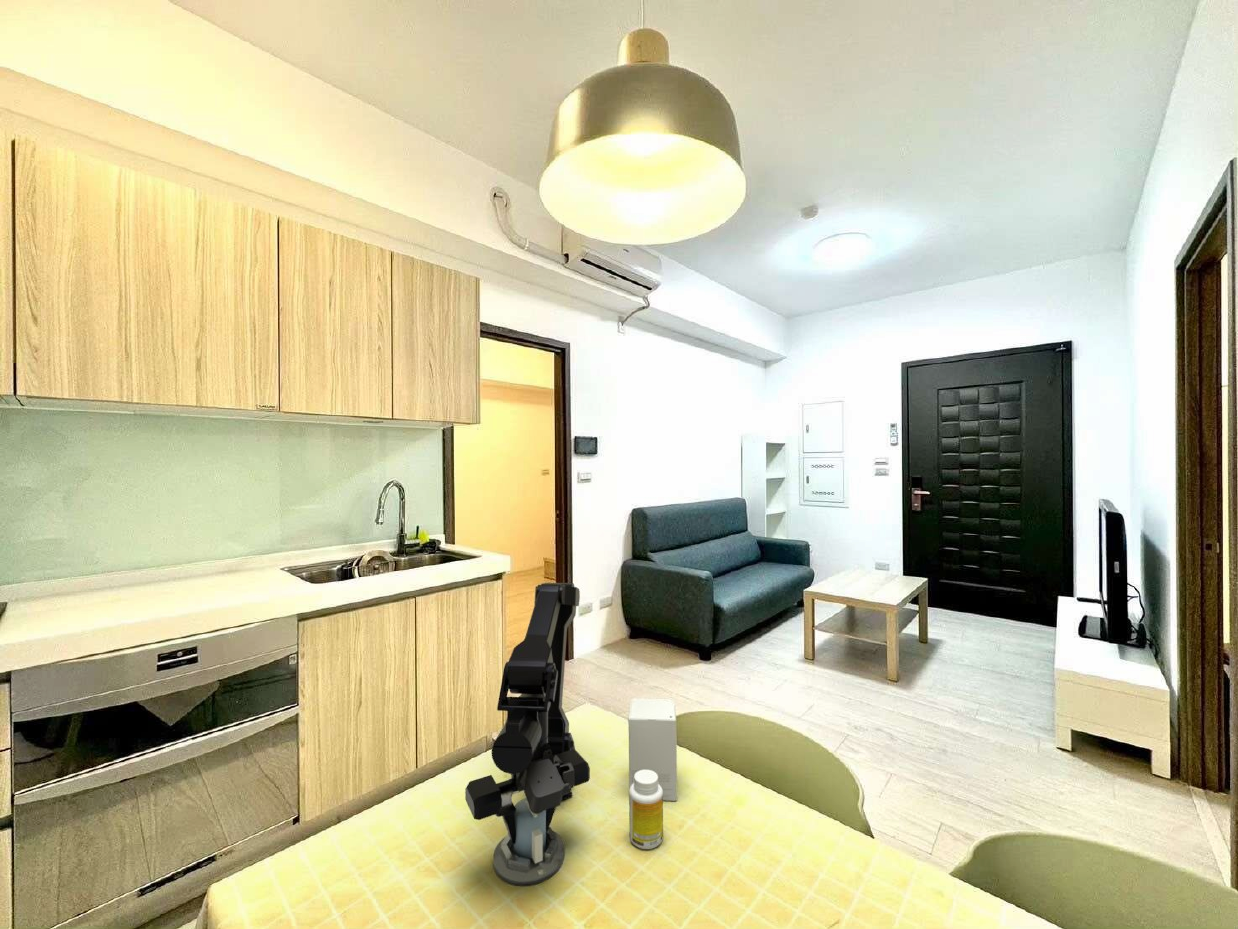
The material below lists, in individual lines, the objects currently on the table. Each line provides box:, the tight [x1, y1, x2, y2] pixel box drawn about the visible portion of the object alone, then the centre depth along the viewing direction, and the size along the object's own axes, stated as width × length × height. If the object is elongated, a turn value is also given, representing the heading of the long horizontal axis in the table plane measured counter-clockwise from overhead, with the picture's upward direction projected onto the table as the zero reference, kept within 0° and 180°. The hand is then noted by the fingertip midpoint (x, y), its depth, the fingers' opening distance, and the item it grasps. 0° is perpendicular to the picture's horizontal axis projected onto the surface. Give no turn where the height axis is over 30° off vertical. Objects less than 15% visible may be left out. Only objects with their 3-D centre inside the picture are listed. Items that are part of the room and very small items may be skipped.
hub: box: [492, 826, 566, 887], centre depth 80 cm, size 11×11×2 cm
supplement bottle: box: [628, 770, 664, 850], centre depth 84 cm, size 6×6×10 cm
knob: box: [514, 797, 546, 863], centre depth 79 cm, size 6×5×6 cm
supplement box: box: [627, 697, 678, 802], centre depth 98 cm, size 9×9×15 cm
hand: (529, 836), depth 80 cm, fingers closed on knob, 5 cm apart
